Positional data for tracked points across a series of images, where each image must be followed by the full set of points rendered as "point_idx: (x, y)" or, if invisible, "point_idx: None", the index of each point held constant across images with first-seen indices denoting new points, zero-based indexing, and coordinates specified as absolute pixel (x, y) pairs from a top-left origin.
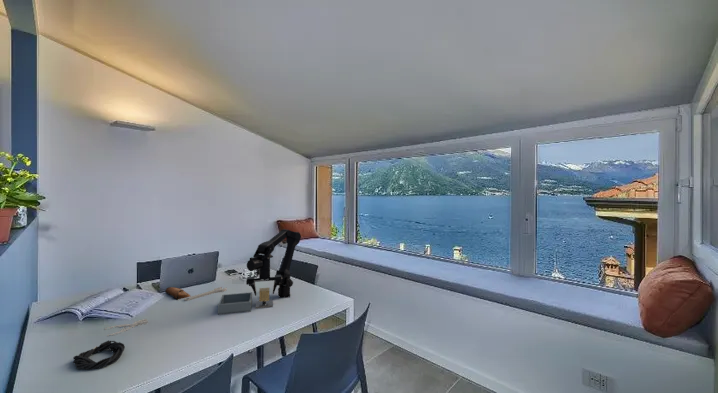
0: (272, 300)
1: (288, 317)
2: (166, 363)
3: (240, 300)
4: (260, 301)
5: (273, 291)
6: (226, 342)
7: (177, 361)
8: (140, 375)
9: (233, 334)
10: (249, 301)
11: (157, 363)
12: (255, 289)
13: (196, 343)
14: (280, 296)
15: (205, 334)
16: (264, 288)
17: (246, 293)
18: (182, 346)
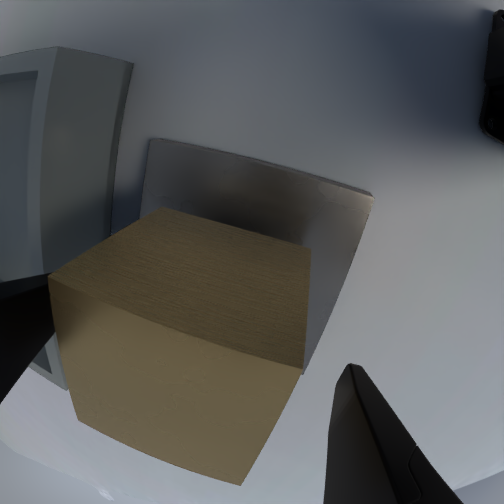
0: (358, 236)
1: (318, 496)
2: (15, 441)
3: (28, 79)
4: (197, 187)
5: (335, 445)
6: (85, 472)
7: (27, 450)
8: (4, 438)
9: (89, 460)
10: (53, 374)
11: (3, 430)
12: (6, 372)
13: (21, 425)
14: (499, 121)
15: (14, 403)
16: (153, 365)
17: (8, 74)
18: (3, 413)
